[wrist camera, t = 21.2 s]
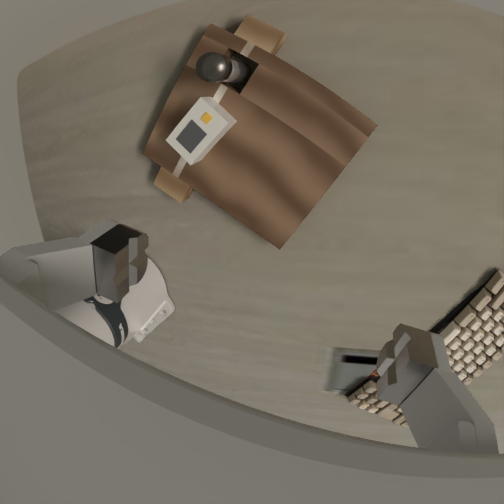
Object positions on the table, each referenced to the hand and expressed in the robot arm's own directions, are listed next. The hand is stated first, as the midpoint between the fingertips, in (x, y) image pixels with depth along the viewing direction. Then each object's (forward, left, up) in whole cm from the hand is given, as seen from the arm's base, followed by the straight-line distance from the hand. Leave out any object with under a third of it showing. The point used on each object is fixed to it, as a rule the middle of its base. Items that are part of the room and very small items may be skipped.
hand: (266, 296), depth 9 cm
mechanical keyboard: (-14, -39, -32) cm, 52 cm away
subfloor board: (-4, +8, -31) cm, 32 cm away
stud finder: (-6, +13, -29) cm, 32 cm away
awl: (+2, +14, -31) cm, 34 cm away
